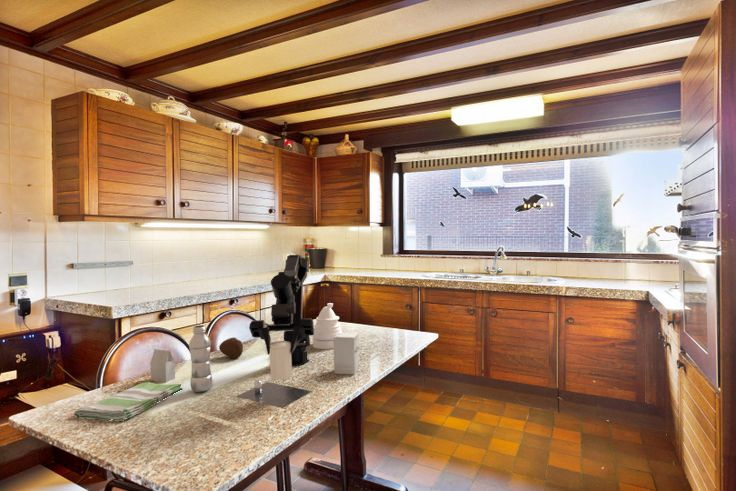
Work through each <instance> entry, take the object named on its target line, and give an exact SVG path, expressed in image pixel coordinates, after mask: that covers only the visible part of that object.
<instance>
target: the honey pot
mask: <svg viewBox="0 0 736 491" xmlns="http://www.w3.org/2000/svg"><path fill="white" fill-rule="evenodd" d="M326 305H327V306H323V308H322V309H321V310H320V312H319V313H318V314H319V315H318V316H317V317H316V318H315V320H316V322H315V325H314V335H312V347H313V348H315V349H318V350H319V349H320V350H332V349H333V350H334V337H335V336H336V335H337V334H338V333H343V330H342V328H341V326H340V323H339V320H340V316H338V315H336V313H335V312H334V310H333V309H332V308H333V307H334V303H333V302H332V303H331V302H329V303H327V304H326Z"/></svg>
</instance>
